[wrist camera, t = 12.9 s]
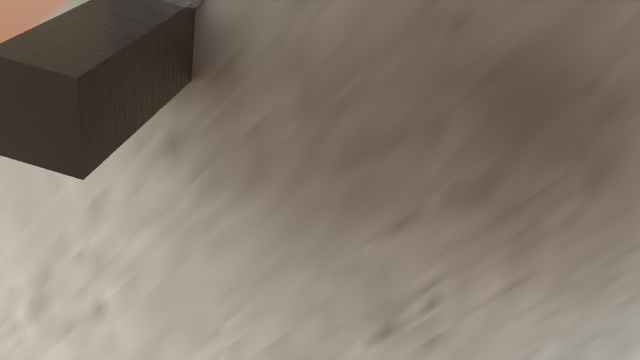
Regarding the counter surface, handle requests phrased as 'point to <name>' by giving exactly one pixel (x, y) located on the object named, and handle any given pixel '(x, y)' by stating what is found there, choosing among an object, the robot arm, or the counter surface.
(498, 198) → the counter surface
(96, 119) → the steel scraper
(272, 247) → the counter surface
